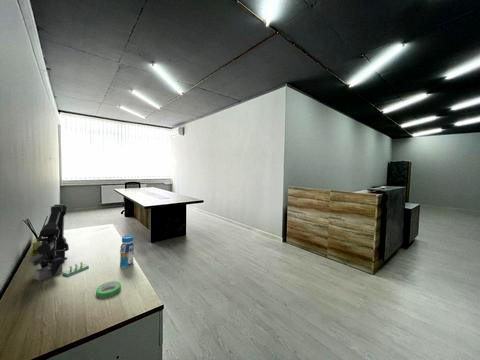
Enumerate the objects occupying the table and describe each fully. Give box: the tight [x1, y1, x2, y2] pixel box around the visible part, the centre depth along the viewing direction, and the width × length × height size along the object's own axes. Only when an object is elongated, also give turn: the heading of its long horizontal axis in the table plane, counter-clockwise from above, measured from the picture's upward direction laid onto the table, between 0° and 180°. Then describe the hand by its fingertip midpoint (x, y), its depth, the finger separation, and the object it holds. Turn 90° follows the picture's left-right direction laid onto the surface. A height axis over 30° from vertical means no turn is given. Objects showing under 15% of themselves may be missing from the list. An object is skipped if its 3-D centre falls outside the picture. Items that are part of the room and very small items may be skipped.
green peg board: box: [61, 261, 90, 277], centre depth 124 cm, size 5×12×4 cm, turn 160°
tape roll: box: [95, 280, 122, 299], centre depth 105 cm, size 11×11×3 cm
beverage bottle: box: [119, 235, 135, 269], centre depth 135 cm, size 8×8×20 cm
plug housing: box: [33, 264, 63, 282], centre depth 117 cm, size 5×11×5 cm, turn 160°
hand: (48, 273), depth 117 cm, fingers open, 9 cm apart
